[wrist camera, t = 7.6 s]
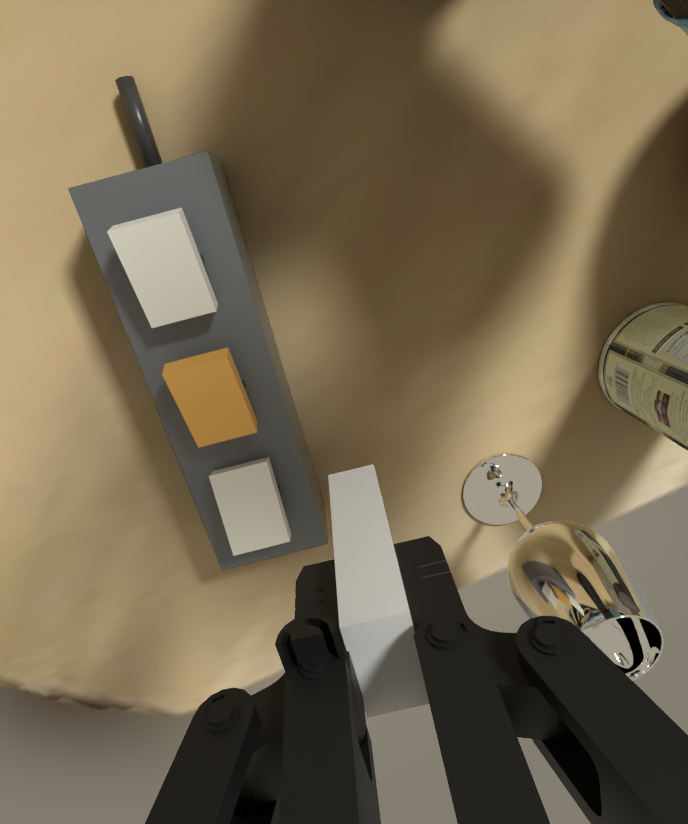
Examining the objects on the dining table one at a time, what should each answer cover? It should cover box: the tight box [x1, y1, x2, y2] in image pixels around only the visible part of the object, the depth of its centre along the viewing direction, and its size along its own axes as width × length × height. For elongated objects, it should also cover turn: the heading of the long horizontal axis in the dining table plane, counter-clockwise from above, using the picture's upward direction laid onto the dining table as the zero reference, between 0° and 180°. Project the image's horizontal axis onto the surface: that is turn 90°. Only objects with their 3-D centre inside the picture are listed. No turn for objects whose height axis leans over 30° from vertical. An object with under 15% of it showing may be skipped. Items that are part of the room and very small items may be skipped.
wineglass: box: [463, 453, 664, 681], centre depth 42 cm, size 8×8×20 cm
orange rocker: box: [162, 347, 257, 448], centre depth 37 cm, size 6×4×1 cm
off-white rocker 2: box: [209, 457, 291, 556], centre depth 41 cm, size 6×4×1 cm
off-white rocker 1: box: [107, 207, 218, 328], centre depth 34 cm, size 6×4×1 cm
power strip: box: [68, 76, 328, 571], centre depth 40 cm, size 36×9×7 cm, turn 14°
